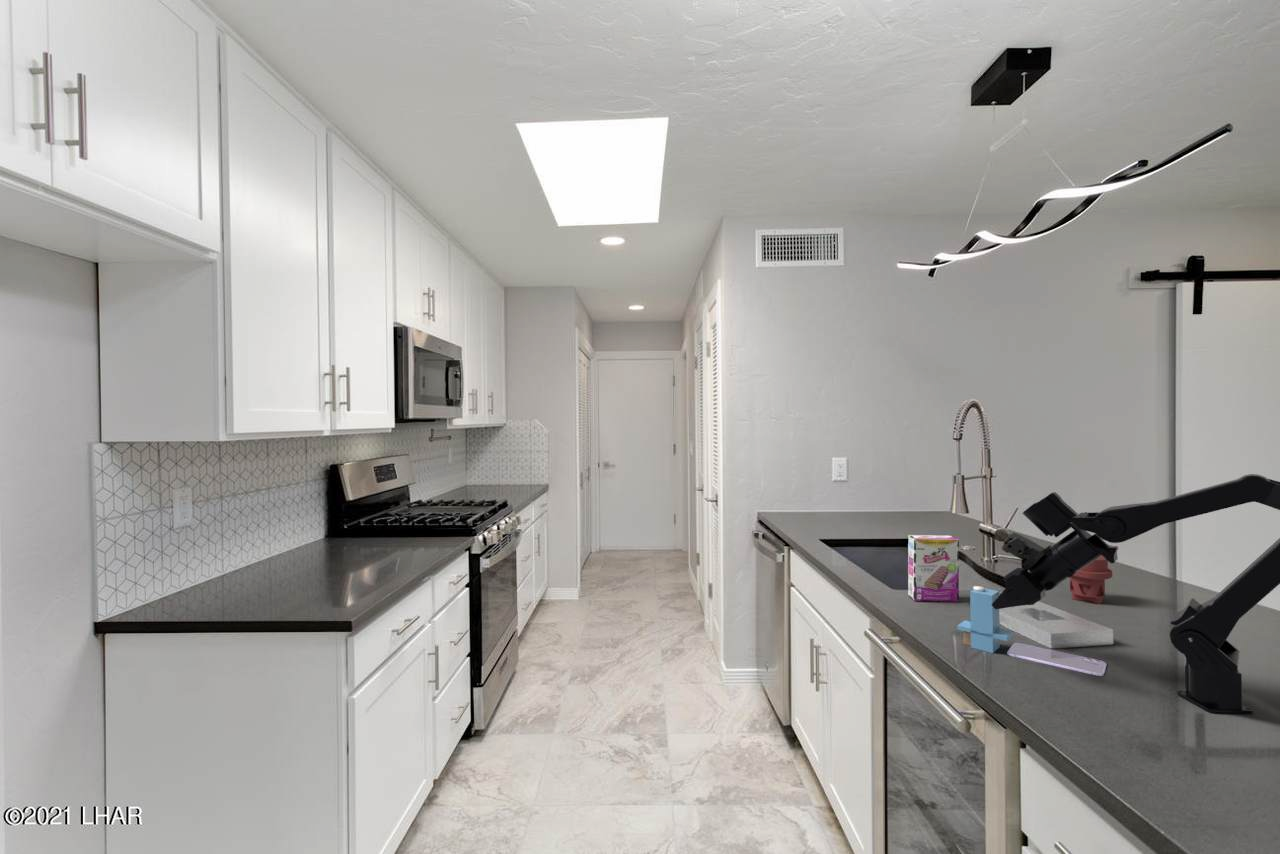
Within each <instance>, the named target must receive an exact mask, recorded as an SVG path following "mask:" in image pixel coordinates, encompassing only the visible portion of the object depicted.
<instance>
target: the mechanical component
mask: <svg viewBox="0 0 1280 854" xmlns="http://www.w3.org/2000/svg"><path fill="white" fill-rule="evenodd" d="M1111 578H1113V570H1112V569H1110V568H1109V561H1108V560H1106V559H1105V558H1104V557H1103V556H1101V557H1099V558H1098V559H1096V560H1095V561H1093V562H1092V563H1090V564H1088V565H1087V566H1085V567H1084V568H1082V569H1081V570H1079V571H1078V572H1076V573H1075V574H1074V575H1072V576H1071V577H1069V591H1070V593H1071V599H1072V600H1074V601H1084V602H1087V603H1088V602H1089V603H1093V604H1097V605H1099V604H1100V605H1101V604H1102V603H1103V600H1102V599H1103V598H1104V597H1106V581H1105V580H1110V579H1111Z"/></svg>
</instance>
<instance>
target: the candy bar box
mask: <svg viewBox="0 0 1280 854" xmlns="http://www.w3.org/2000/svg"><path fill="white" fill-rule="evenodd" d="M907 539H908V540H907V541H908V542H907V543H908V544H907V547H908V549H907V558H908V559H907V562H908V563H907V564H908V565H907V567H908V568H907V584H908V585H907V595H908V597H909V598H910V597H911V598H910V599H912V601H914V602H937V601H940V602H944V603H945V602H946V603H947V602H949V603H952V602H953V603H959V597H960V595H959V593H960V592H959V591H960V590H959V589H960V586H959V584H960V583H959V581H960V579H959V577H960V570H959V569H960V568H959V567H960V565H959V564H960V559H959V557H960V549H959V548H960V539H959V538H956V537H954V536H952V535H938V534H937V535H936V534H935V535H934V534H933V535H932V534H930V535H929V534H927V535H925V534H921V535H920V534H908V535H907Z"/></svg>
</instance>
